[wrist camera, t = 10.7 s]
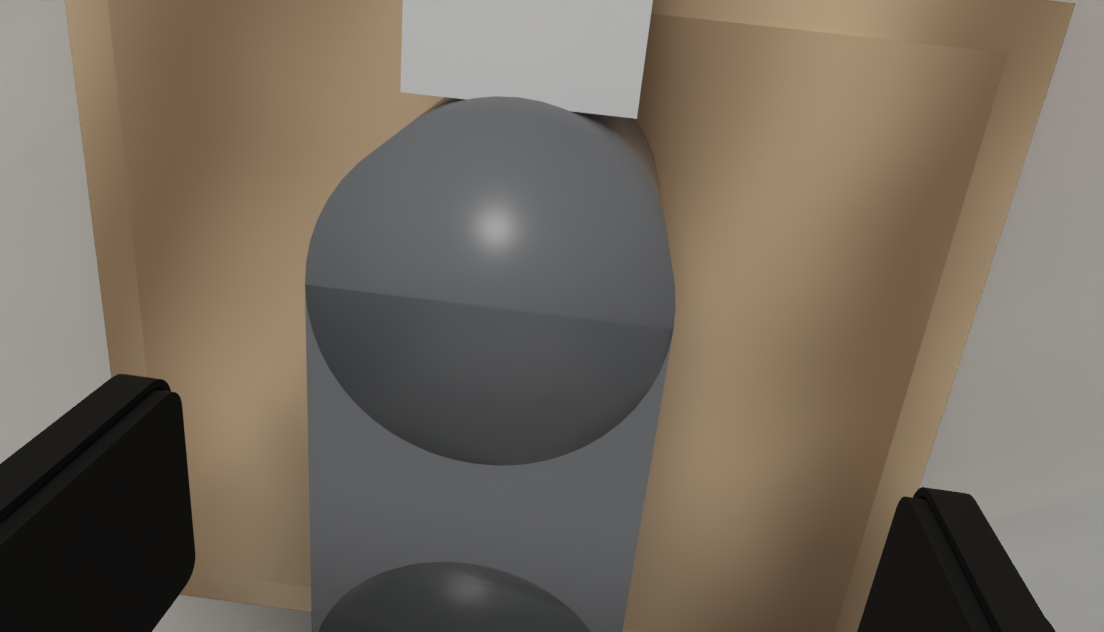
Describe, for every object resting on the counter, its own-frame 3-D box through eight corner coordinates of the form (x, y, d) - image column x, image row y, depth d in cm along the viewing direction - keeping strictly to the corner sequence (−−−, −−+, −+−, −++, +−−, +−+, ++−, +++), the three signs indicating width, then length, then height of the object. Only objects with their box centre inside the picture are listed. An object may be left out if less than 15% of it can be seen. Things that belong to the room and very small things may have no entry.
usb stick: (600, 587, 18) (592, 808, 13) (394, 560, 18) (315, 767, 13) (702, -76, 13) (745, -96, 8) (413, -106, 13) (295, -143, 8)
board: (1050, 0, 14) (1078, 3, 13) (846, 657, 19) (856, 689, 18) (81, -103, 14) (48, -106, 13) (155, 565, 20) (135, 591, 19)
